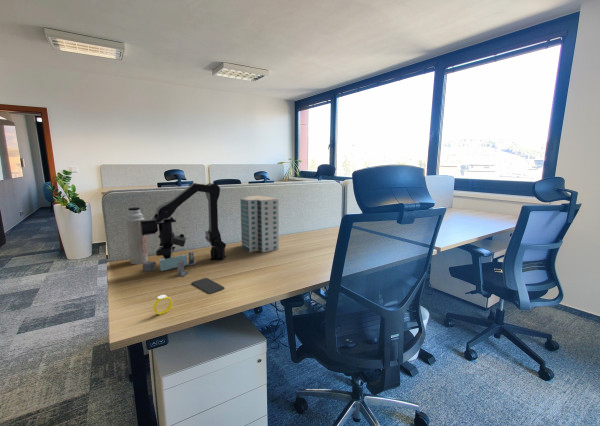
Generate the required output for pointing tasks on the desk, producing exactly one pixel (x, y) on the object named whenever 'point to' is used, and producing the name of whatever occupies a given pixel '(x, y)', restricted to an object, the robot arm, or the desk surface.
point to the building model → (259, 223)
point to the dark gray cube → (149, 266)
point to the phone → (208, 285)
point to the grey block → (181, 269)
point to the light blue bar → (172, 262)
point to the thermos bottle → (136, 237)
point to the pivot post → (191, 259)
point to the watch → (162, 297)
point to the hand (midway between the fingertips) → (169, 262)
